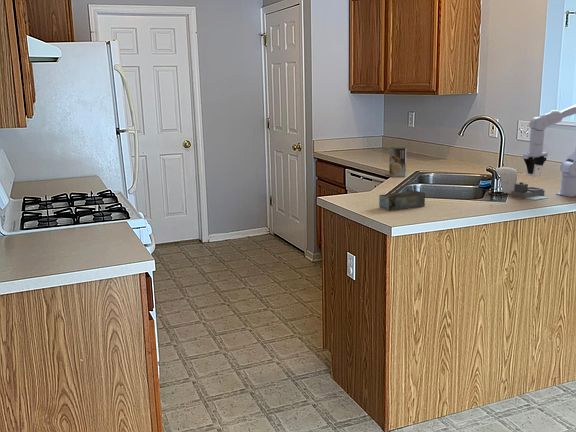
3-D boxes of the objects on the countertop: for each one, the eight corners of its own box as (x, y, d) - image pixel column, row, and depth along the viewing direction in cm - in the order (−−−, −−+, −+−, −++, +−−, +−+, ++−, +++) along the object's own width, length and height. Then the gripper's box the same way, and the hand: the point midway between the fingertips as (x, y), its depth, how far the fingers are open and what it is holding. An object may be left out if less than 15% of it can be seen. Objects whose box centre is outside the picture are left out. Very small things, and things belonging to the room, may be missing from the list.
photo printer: (516, 193, 273) (518, 167, 270) (514, 194, 269) (517, 168, 266) (493, 191, 278) (495, 166, 275) (492, 192, 274) (493, 167, 271)
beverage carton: (378, 208, 246) (378, 193, 244) (414, 203, 254) (415, 189, 252) (388, 211, 239) (389, 196, 237) (425, 207, 247) (426, 192, 245)
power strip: (531, 193, 272) (532, 178, 271) (544, 195, 266) (545, 181, 265) (511, 196, 266) (512, 181, 264) (523, 198, 260) (524, 183, 258)
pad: (538, 196, 264) (538, 195, 264) (547, 198, 260) (547, 197, 260) (525, 198, 260) (525, 197, 260) (534, 200, 256) (534, 199, 256)
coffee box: (406, 175, 328) (407, 147, 324) (405, 177, 322) (406, 148, 318) (390, 174, 330) (390, 147, 327) (388, 176, 324) (389, 148, 321)
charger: (532, 174, 268) (533, 164, 267) (541, 176, 264) (542, 165, 263) (526, 175, 266) (527, 165, 265) (534, 177, 262) (535, 166, 261)
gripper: (539, 142, 269) (537, 170, 272) (518, 143, 262) (516, 173, 265) (552, 143, 263) (550, 172, 266) (531, 145, 256) (528, 175, 259)
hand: (533, 173), depth 265 cm, fingers closed on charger, 4 cm apart
